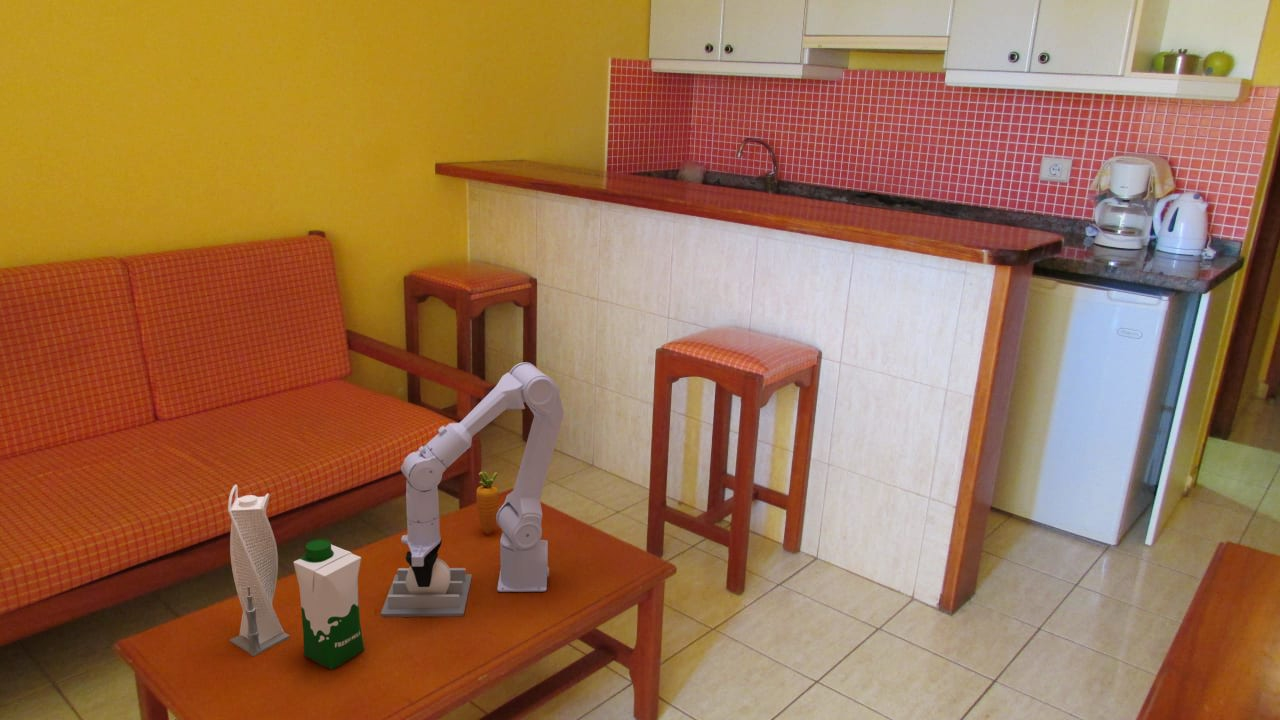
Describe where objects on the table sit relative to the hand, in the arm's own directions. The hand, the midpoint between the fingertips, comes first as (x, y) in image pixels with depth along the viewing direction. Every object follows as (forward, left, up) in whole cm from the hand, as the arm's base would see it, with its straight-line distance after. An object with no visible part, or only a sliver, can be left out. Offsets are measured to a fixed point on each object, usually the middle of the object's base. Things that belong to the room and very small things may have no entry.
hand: (425, 581), depth 168 cm
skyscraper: (+27, +11, -5) cm, 29 cm away
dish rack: (0, -2, -4) cm, 5 cm away
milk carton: (+13, +16, -5) cm, 21 cm away
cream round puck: (-1, 0, -3) cm, 3 cm away
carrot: (-9, -27, -5) cm, 29 cm away
